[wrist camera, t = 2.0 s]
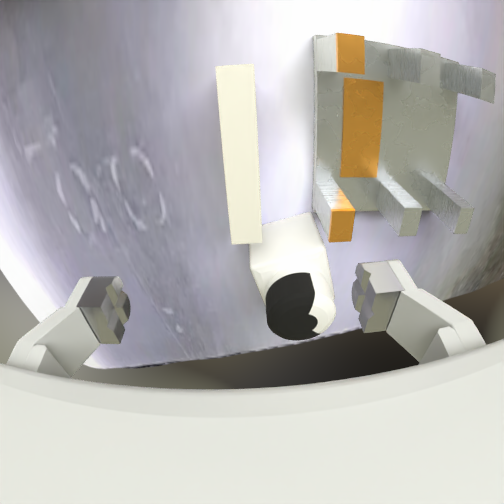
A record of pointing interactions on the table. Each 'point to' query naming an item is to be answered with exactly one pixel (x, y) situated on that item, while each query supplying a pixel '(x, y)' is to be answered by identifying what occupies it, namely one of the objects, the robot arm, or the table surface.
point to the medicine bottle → (294, 277)
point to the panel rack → (387, 133)
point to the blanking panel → (240, 150)
